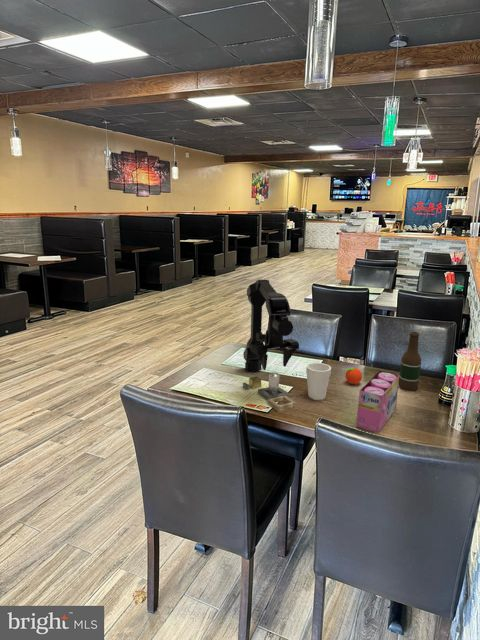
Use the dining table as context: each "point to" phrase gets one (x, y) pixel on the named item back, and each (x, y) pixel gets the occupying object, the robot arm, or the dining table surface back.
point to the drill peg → (273, 383)
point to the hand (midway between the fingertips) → (274, 368)
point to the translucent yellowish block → (255, 382)
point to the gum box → (377, 401)
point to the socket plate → (265, 394)
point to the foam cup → (317, 380)
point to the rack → (277, 407)
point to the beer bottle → (410, 365)
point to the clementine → (353, 375)
